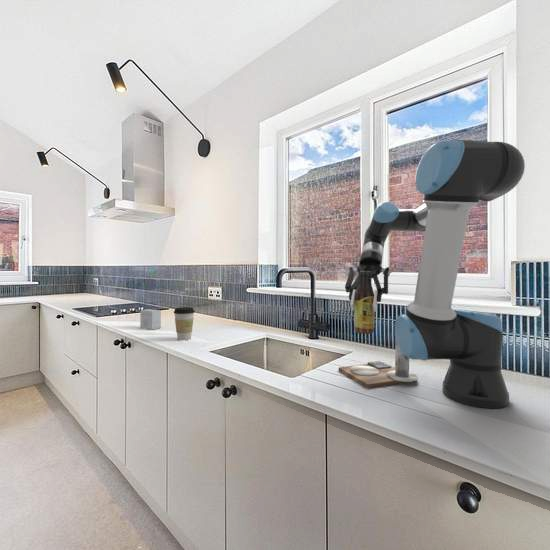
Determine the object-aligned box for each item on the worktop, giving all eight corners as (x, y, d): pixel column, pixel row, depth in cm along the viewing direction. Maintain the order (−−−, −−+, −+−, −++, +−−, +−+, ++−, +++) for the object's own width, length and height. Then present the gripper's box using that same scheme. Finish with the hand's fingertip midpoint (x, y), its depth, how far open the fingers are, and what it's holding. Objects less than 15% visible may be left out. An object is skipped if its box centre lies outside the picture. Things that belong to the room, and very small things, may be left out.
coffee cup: (197, 339, 149) (197, 308, 149) (177, 342, 143) (177, 310, 143) (190, 336, 157) (190, 306, 157) (171, 338, 152) (171, 308, 151)
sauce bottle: (364, 335, 96) (364, 271, 96) (350, 331, 101) (350, 271, 101) (379, 333, 99) (379, 271, 99) (365, 329, 104) (365, 271, 104)
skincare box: (161, 328, 178) (161, 310, 178) (151, 330, 172) (151, 311, 172) (149, 326, 183) (149, 308, 183) (139, 328, 178) (139, 310, 177)
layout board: (424, 383, 93) (424, 377, 93) (373, 391, 87) (373, 384, 87) (384, 365, 110) (384, 359, 110) (338, 370, 104) (338, 365, 104)
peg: (412, 376, 94) (412, 331, 94) (401, 378, 93) (401, 331, 93) (402, 372, 98) (403, 328, 98) (392, 373, 97) (392, 329, 96)
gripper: (400, 265, 109) (396, 317, 95) (346, 265, 118) (335, 313, 103) (399, 249, 104) (395, 302, 90) (343, 250, 113) (330, 299, 98)
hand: (362, 308), depth 97 cm, fingers closed on sauce bottle, 6 cm apart
